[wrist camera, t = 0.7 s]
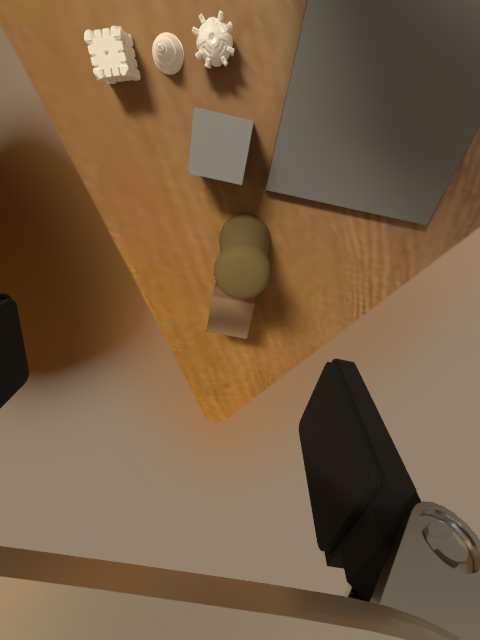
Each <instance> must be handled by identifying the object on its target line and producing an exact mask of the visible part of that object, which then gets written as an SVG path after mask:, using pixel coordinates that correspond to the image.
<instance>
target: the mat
mask: <svg viewBox="0 0 480 640" xmlns="http://www.w3.org/2000/svg"><path fill="white" fill-rule="evenodd" d="M479 126H480V0H308V1H307V5H306V10H305V14H304V19H303V23H302V28H301V32H300V36H299V41H298V45H297V50H296V54H295V59H294V63H293V68H292V72H291V76H290V81H289V85H288V90H287V94H286V99H285V103H284V108H283V112H282V117H281V121H280V125H279V130H278V134H277V139H276V143H275V148H274V152H273V157H272V161H271V166H270V170H269V174H268V179H267V183H266V188H265V189H266V190H268V191H273V192H277V193H282V194H286V195H291V196H295V197H300V198H304V199H309V200H313V201H318V202H323V203H327V204H332V205H336V206H341V207H345V208H350V209H354V210H359V211H363V212H368V213H372V214H377V215H381V216H386V217H391V218H395V219H400V220H404V221H409V222H413V223H418V224H422V225H427V224H428V222H429V220H430V218H431V217H432V215H433V213H434V211H435V209H436V207H437V205H438V203H439V202H440V200H441V198H442V196H443V194H444V192H445V190H446V188H447V186H448V185H449V183H450V181H451V179H452V177H453V175H454V173H455V171H456V169H457V168H458V166H459V164H460V162H461V160H462V158H463V156H464V154H465V153H466V151H467V149H468V147H469V145H470V143H471V141H472V139H473V137H474V136H475V134H476V132H477V130H478V128H479Z"/></svg>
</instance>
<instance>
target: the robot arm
mask: <svg viewBox="0 0 480 640" xmlns="http://www.w3.org/2000/svg"><path fill="white" fill-rule="evenodd" d="M28 376H29V369H28V364H27V359H26V353H25V347H24V342H23V336H22V331H21V326H20V320H19V315H18V309H17V305H16V303H15V301H13V300H12V299H11V297H10V296H9V295H7V294H5V293H0V408H1V407H2V406H3V405H4V404H5V403H6V402H7V401H8V400H9V399H10V398H11V397H12V396H13V395H14V394H15V393H16V392H17V391H18V390H19V389H20V388H21V387H22V386H23V385H24V384H25V382H26V381H27V379H28ZM299 435H300V441H301V447H302V453H303V459H304V465H305V471H306V477H307V483H308V489H309V495H310V501H311V507H312V513H313V519H314V525H315V531H316V537H317V543H318V546H319V548H320V550H321V551H325V557H326V563H327V566H331V567H337V568H344V570H345V575H346V579H347V582H348V583H349V584H348V586H347V589H346V591H345V593H344V595H343V596H338V595H332V594H326V593H320V592H313V591H308V590H302V589H296V588H289V587H284V586H277V585H271V584H265V583H258V582H252V581H245V580H237V579H231V578H224V577H217V576H210V575H203V574H195V573H189V572H182V571H175V570H168V569H161V568H154V567H147V566H141V565H134V564H126V563H119V562H112V561H105V560H98V559H91V558H83V557H76V556H69V555H62V554H55V553H48V552H40V551H33V550H26V549H19V548H11V547H4V546H0V640H480V540H479V539H478V537H477V535H476V534H475V533H474V532H473V531H472V529H471V528H470V527H469V526H468V525H467V524H466V523H465V522H464V521H463V520H462V519H461V518H459V517H458V516H457V515H456V514H455V513H453V512H452V511H450V510H448V509H447V508H445V507H444V506H441V505H438V504H436V503H433V502H421V500H420V498H419V496H418V494H417V492H416V488H415V486H414V484H413V482H412V480H411V478H410V476H409V474H408V472H407V470H406V468H405V466H404V464H403V462H402V460H401V458H400V455H399V453H398V451H397V449H396V447H395V445H394V443H393V441H392V439H391V437H390V435H389V433H388V431H387V429H386V427H385V425H384V423H383V420H382V418H381V416H380V414H379V412H378V410H377V408H376V406H375V404H374V402H373V400H372V398H371V396H370V394H369V391H368V390H367V387H366V385H365V383H364V381H363V379H362V377H361V375H360V373H359V371H358V369H357V367H356V365H355V363H354V362H350V361H345V360H340V359H334V360H333V361H332V362H327V363H326V365H325V367H324V369H323V371H322V373H321V375H320V378H319V380H318V382H317V384H316V387H315V389H314V391H313V393H312V395H311V398H310V400H309V402H308V405H307V407H306V409H305V411H304V413H303V416H302V418H301V420H300V424H299Z"/></svg>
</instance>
